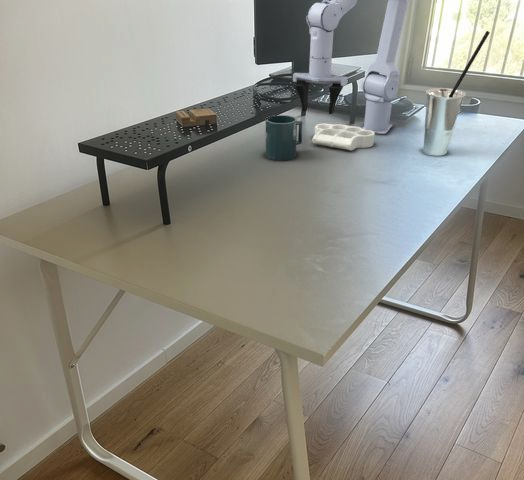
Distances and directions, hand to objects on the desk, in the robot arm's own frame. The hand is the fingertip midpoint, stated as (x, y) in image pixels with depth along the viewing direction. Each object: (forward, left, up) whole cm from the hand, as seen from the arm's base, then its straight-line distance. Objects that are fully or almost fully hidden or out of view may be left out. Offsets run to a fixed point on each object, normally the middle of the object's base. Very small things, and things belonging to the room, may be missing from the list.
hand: (317, 111), depth 153 cm
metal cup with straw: (-7, +33, -9) cm, 35 cm away
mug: (+11, -5, -9) cm, 15 cm away
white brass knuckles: (-5, +6, -9) cm, 12 cm away
